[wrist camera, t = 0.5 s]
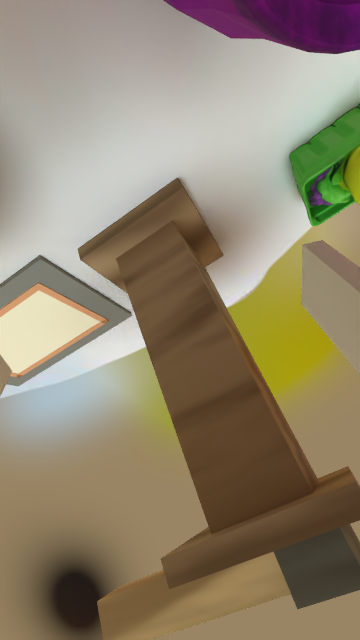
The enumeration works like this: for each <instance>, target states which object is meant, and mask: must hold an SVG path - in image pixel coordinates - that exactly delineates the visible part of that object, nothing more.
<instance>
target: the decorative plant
mask: <svg viewBox="0 0 360 640" xmlns="http://www.w3.org/2000/svg"><path fill="white" fill-rule="evenodd" d="M164 1H165V2H167V3H168V4H170V5H171V6H173V7H174V8H176V9H177V10H179V11H181V12H183V13H185V14H186V15H188V16H190V17H192V18H194V19H196V20H198V21H200V22H201V23H203V24H205V25H207V26H209V27H211V28H213V29H215V30H217V31H218V32H220V33H222V34H224V35H226V36H228V37H230V38H250V39H266V40H270V41H273V42H276V43H280V44H283V45H286V46H290V47H293V48H296V49H300V50H303V51H306V52H314V53H329V54H339V53H344V52H350V51H355V50H360V0H164Z"/></svg>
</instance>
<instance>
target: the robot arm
mask: <svg viewBox="0 0 360 640" xmlns="http://www.w3.org/2000/svg"><path fill="white" fill-rule="evenodd" d="M301 304H302V305H303V306H304V308H305V309H306V310H307V311H308V313H309V314H310V315H311V316H312V317H313V319H314V320H315V321H316V322H317V323H318V325H319V326H320V327H321V328H322V329H323V331H324V332H325V333H326V334H327V335H328V337H329V338H330V339H331V340H332V342H333V343H334V344H335V345H336V346H337V347H338V349H339V350H340V351H341V352H342V354H343V355H344V356H345V357H346V358H347V360H348V361H349V362H350V363H351V364H352V366H353V367H354V368H355V369H356V370H357V372H358V373H359V374H360V267H359V266H357V265H356V264H354V263H353V262H352V261H350V260H349V259H347V258H346V257H345V256H343V255H342V254H341V253H339V252H338V251H336V250H335V249H334V248H332V247H331V246H330V245H328V244H327V243H325V242H324V241H323V240H321V241H316V242H312V243H308V244H304V245H303V250H302V288H301ZM11 373H12V370H11V368H10V367H9V366H8V364H7V363H6V361H5V360H4V359H3V357H2V356H1V355H0V396H1V394H2V392H3V389H4V387H5V385H6V383H7V381H8V379H9V377H10V375H11Z"/></svg>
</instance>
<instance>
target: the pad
mask: <svg viewBox="0 0 360 640" xmlns="http://www.w3.org/2000/svg"><path fill="white" fill-rule="evenodd" d="M131 316H132V314H131V313H130V312H129V311H127V310H126V309H124V308H122V307H121V306H119V305H118V304H116V303H115V302H113V301H111V300H110V299H108V298H107V297H105V296H103V295H102V294H100V293H99V292H97V291H95V290H94V289H92V288H91V287H89V286H88V285H86V284H84V283H83V282H81V281H80V280H78V279H76V278H75V277H73V276H72V275H70V274H68V273H67V272H65V271H64V270H62V269H61V268H59V267H57V266H56V265H54V264H53V263H51V262H49V261H48V260H46V259H45V258H43V257H41V256H38V257H37V258H36V259H34V260H33V261H32V262H30V263H29V264H27V265H26V266H25V267H23V268H22V269H21V270H19V271H18V272H17V273H15V274H14V275H13V276H11V277H10V278H8V279H7V280H6V281H4V282H3V283H2V284H0V355H1V356H2V357H3V359H4V360H5V361H6V363H7V364H8V366H9V367H10V368H11V370H12V373H11V375H10V377H9V379H8V381H7V383H6V384H8V385H14V386H20V385H21V384H23V383H24V382H26V381H28V380H29V379H31V378H32V377H34V376H36V375H37V374H39V373H40V372H42V371H44V370H45V369H47V368H49V367H50V366H52V365H53V364H55V363H57V362H58V361H60V360H61V359H63V358H65V357H66V356H68V355H69V354H71V353H73V352H74V351H76V350H77V349H79V348H81V347H82V346H84V345H86V344H87V343H89V342H90V341H92V340H94V339H95V338H97V337H98V336H100V335H102V334H103V333H105V332H106V331H108V330H110V329H111V328H113V327H114V326H116V325H118V324H119V323H121V322H123V321H124V320H126V319H127V318H129V317H131Z"/></svg>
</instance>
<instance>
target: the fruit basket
mask: <svg viewBox="0 0 360 640" xmlns="http://www.w3.org/2000/svg"><path fill="white" fill-rule="evenodd" d="M290 160H291V163H292V168H293V172H294V176H295V180H296V182H297V187H298V190H299V192H300V195H301V197H302V200H303V202H304V204H305V207H306V210H307V214H308V218H309V220H310V223H311V225H312V226H317V225H320V224H321V223H323V222H325V221H326V220H328V219H329V218H331V217H332V216H334V215H336V214H337V213H339V212H340V211H341V210H343V209H345V208H346V207H348V206H349V205H351V204H353V203H354V202H356V203H358V204H360V105H358V107H357V108H354V109H352V110H350V111H349V112H347V113H346V114H345V115H343V116H342V117H340V118H339V119H338V120H337V121H336V122H335V123H334V124H333V125H332V126H329V127H327V128H325V129H324V130H323V131H321V132H320V133H318V134H317V135H316V136H314V137H313V138H312V139H311V140H310V141H309V142H308V143H306V144H304V145H302V146H300V147H299V148H298V149H296V150H295V151H294V152H292V153H291V154H290Z"/></svg>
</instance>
